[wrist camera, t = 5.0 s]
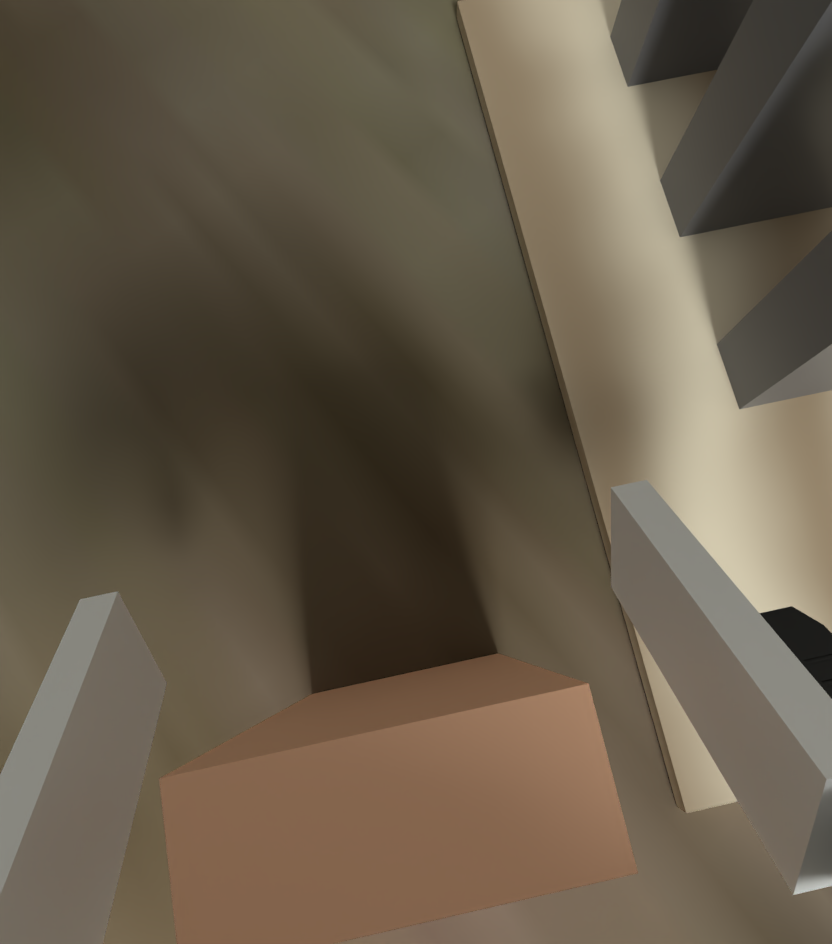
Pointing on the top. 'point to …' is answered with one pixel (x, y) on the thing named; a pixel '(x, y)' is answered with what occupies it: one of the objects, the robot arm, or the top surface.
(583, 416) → the birch board
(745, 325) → the dark grey block
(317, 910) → the salmon orange block
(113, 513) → the top surface
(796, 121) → the grey rectangular slab
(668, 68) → the dark grey block
